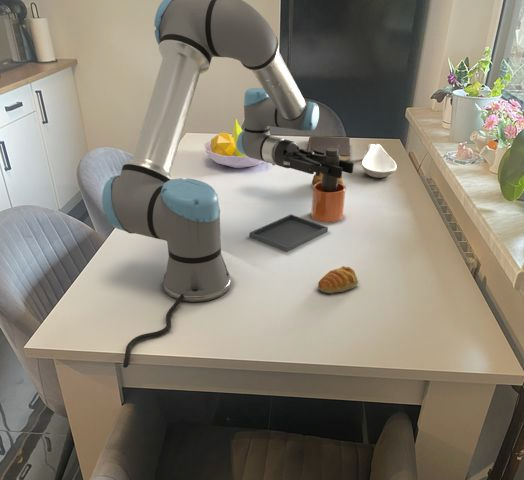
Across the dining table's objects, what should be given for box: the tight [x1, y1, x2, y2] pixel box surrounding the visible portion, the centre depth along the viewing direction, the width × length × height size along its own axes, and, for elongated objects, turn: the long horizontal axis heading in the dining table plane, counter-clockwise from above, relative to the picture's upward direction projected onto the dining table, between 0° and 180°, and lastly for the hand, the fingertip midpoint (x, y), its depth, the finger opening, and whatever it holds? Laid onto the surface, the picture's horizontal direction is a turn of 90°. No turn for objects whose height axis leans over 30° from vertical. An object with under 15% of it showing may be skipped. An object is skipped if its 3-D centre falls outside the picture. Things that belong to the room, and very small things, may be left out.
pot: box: [311, 182, 346, 223], centre depth 155 cm, size 9×9×9 cm
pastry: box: [317, 265, 359, 294], centre depth 124 cm, size 9×7×4 cm
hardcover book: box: [306, 135, 351, 162], centre depth 207 cm, size 16×23×2 cm
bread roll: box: [311, 172, 344, 186], centre depth 176 cm, size 10×10×8 cm
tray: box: [249, 214, 329, 253], centre depth 147 cm, size 17×13×2 cm
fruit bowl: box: [203, 118, 271, 169], centre depth 195 cm, size 28×27×11 cm
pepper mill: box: [321, 148, 340, 192], centre depth 149 cm, size 4×4×11 cm
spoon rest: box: [361, 143, 398, 179], centre depth 189 cm, size 24×12×7 cm, turn 0°
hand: (346, 170), depth 146 cm, fingers closed on pepper mill, 4 cm apart
